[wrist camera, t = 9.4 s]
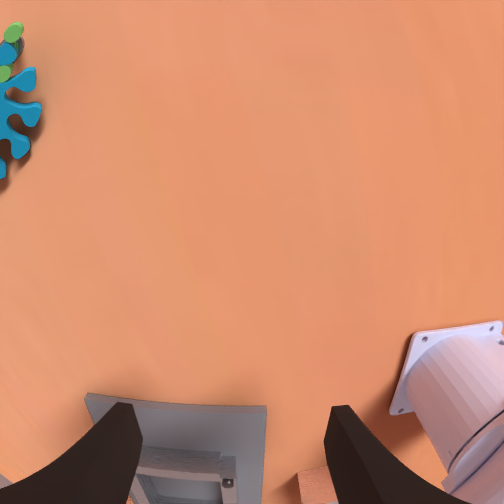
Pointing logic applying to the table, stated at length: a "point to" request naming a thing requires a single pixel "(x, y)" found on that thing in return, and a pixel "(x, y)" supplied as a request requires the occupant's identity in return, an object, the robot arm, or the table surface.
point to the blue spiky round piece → (3, 106)
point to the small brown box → (317, 486)
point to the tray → (194, 451)
